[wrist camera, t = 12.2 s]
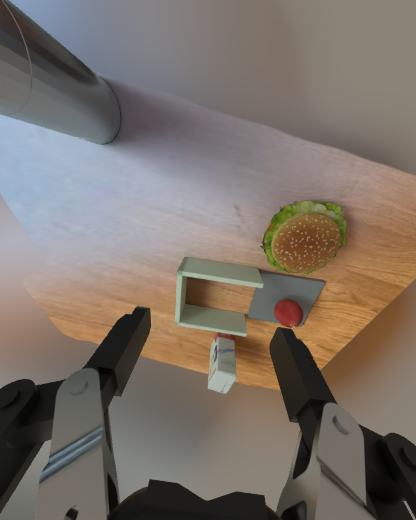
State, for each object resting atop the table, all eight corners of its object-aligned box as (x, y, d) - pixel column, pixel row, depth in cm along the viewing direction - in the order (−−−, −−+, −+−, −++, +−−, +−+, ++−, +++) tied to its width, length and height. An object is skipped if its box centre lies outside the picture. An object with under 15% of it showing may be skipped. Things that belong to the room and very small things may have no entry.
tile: (247, 315, 44) (247, 318, 43) (261, 270, 37) (262, 272, 36) (299, 323, 43) (301, 326, 42) (322, 280, 37) (324, 282, 36)
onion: (298, 292, 38) (315, 318, 31) (292, 311, 40) (306, 339, 33) (273, 290, 38) (284, 315, 31) (268, 309, 41) (277, 336, 34)
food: (348, 214, 31) (385, 224, 24) (301, 272, 37) (319, 294, 30) (285, 183, 29) (304, 183, 22) (247, 248, 35) (252, 265, 28)
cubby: (181, 306, 44) (174, 324, 38) (184, 256, 38) (177, 270, 32) (243, 316, 44) (246, 336, 38) (257, 268, 37) (263, 284, 31)
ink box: (218, 327, 47) (216, 370, 36) (234, 332, 47) (237, 376, 36) (210, 346, 50) (206, 390, 40) (225, 350, 51) (225, 394, 40)
